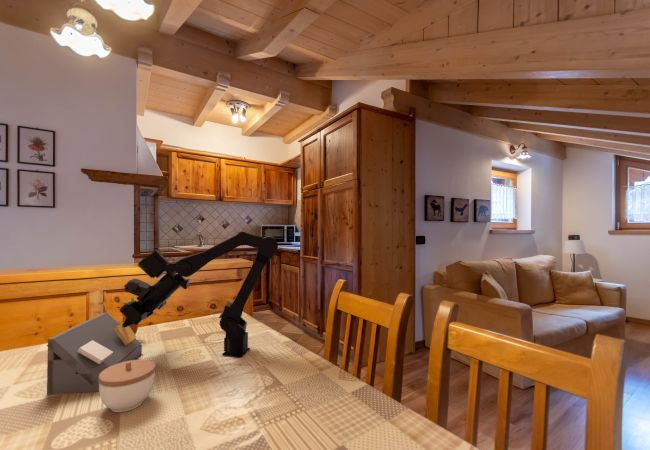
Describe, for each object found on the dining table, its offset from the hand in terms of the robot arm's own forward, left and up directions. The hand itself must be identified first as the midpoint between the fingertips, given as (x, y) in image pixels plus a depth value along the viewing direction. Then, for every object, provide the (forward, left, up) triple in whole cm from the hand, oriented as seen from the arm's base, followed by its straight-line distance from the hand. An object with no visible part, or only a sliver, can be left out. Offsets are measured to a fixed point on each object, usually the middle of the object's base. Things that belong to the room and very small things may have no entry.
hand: (123, 326), depth 90 cm
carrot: (+10, -12, -10) cm, 19 cm away
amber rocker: (0, 0, -4) cm, 4 cm away
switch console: (-1, +7, -10) cm, 12 cm away
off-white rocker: (-6, +13, -4) cm, 15 cm away
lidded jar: (-20, +18, -10) cm, 29 cm away
